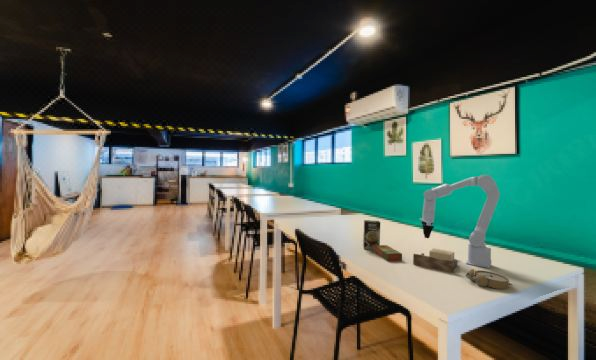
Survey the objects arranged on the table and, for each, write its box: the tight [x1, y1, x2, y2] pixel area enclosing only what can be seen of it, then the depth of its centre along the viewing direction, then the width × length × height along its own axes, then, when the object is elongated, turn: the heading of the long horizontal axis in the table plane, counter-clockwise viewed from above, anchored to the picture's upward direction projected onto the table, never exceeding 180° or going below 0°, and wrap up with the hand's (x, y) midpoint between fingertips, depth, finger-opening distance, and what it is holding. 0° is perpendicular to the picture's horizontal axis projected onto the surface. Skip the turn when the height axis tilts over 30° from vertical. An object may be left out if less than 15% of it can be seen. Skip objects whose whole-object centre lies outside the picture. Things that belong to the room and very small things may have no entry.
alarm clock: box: [465, 268, 513, 290], centre depth 107 cm, size 11×5×15 cm
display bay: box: [412, 252, 458, 274], centre depth 129 cm, size 17×14×5 cm
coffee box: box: [362, 219, 381, 250], centre depth 157 cm, size 9×6×16 cm
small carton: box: [428, 247, 455, 261], centre depth 139 cm, size 10×8×4 cm
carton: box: [373, 244, 403, 262], centre depth 141 cm, size 8×16×4 cm, turn 9°
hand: (426, 236), depth 144 cm, fingers open, 7 cm apart
